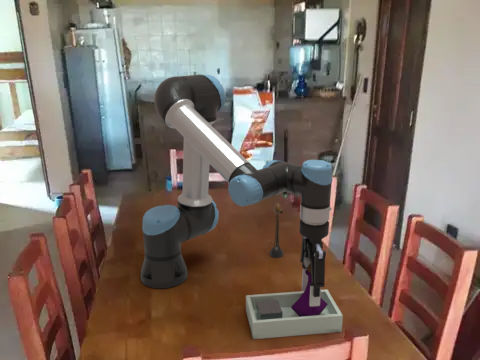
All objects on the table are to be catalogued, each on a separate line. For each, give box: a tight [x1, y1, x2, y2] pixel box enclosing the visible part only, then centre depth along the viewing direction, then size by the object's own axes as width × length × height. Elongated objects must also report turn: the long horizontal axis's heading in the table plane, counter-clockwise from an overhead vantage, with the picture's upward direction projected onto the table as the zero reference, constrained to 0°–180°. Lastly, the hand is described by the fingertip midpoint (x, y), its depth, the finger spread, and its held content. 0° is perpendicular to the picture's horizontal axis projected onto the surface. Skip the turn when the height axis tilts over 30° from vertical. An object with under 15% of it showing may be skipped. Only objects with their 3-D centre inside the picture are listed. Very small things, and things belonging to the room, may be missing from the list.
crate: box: [245, 288, 344, 340], centre depth 121 cm, size 24×13×5 cm, turn 97°
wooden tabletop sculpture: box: [269, 202, 284, 259], centre depth 156 cm, size 6×5×20 cm
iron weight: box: [256, 300, 282, 320], centre depth 120 cm, size 6×6×4 cm
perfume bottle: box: [291, 257, 328, 317], centre depth 120 cm, size 8×8×18 cm
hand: (310, 297), depth 120 cm, fingers open, 7 cm apart
